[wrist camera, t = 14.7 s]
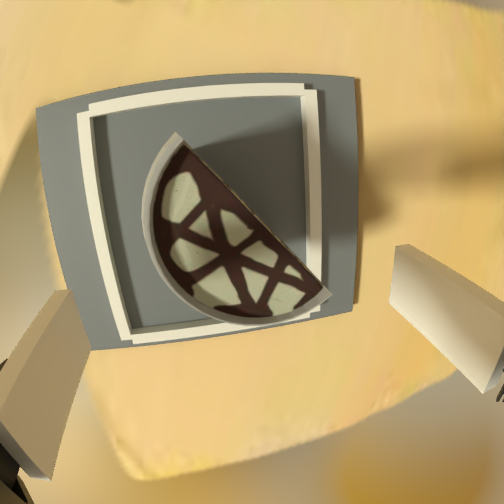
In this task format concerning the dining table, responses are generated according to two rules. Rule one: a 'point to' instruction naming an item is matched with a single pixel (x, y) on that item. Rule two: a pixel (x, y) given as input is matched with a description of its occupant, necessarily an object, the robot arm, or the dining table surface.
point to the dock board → (224, 164)
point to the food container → (220, 246)
